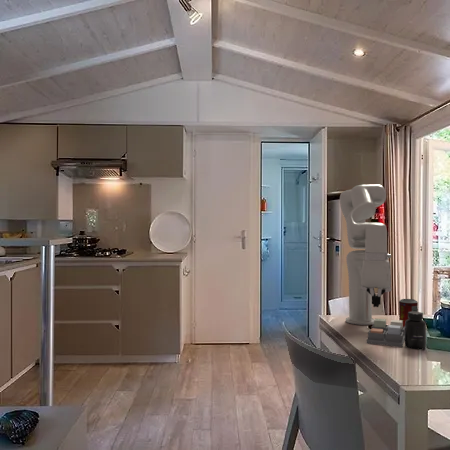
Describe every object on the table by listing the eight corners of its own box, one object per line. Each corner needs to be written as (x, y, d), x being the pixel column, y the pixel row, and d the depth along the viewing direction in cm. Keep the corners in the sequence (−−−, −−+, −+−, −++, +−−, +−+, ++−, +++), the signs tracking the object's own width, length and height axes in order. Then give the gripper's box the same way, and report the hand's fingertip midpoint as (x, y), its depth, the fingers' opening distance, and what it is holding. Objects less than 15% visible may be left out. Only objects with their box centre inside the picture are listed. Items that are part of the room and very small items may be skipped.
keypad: (373, 331, 176) (373, 322, 176) (406, 334, 170) (406, 325, 170) (366, 343, 158) (366, 333, 158) (402, 346, 152) (402, 337, 152)
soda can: (421, 330, 177) (421, 299, 177) (412, 332, 172) (412, 301, 173) (405, 327, 182) (404, 297, 182) (396, 329, 178) (395, 299, 178)
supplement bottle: (417, 350, 148) (416, 315, 148) (400, 345, 154) (400, 311, 154) (430, 347, 151) (430, 313, 151) (413, 343, 157) (413, 310, 157)
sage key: (375, 324, 173) (375, 318, 173) (386, 325, 171) (386, 319, 171) (374, 326, 169) (374, 320, 169) (385, 327, 167) (385, 321, 167)
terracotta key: (372, 334, 164) (372, 328, 164) (383, 335, 162) (383, 329, 162) (370, 337, 160) (370, 330, 160) (382, 338, 158) (382, 331, 158)
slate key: (389, 331, 161) (389, 324, 161) (400, 332, 159) (400, 325, 159) (388, 334, 157) (387, 327, 157) (399, 335, 156) (399, 328, 156)
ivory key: (391, 326, 170) (391, 319, 170) (402, 327, 168) (402, 320, 168) (390, 328, 166) (390, 321, 166) (401, 329, 165) (401, 322, 165)
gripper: (398, 256, 161) (398, 306, 162) (356, 255, 168) (357, 302, 168) (396, 258, 155) (396, 310, 155) (353, 257, 161) (353, 306, 162)
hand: (376, 306), depth 162 cm, fingers closed
